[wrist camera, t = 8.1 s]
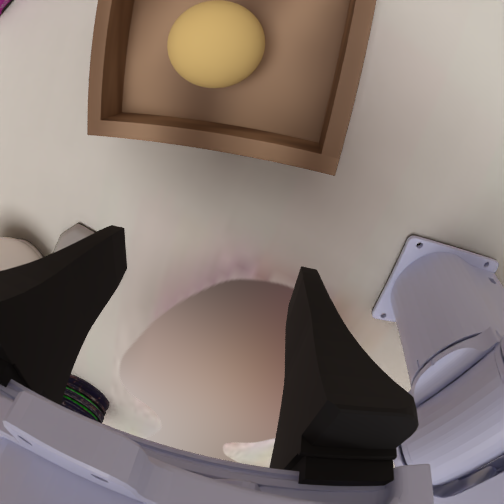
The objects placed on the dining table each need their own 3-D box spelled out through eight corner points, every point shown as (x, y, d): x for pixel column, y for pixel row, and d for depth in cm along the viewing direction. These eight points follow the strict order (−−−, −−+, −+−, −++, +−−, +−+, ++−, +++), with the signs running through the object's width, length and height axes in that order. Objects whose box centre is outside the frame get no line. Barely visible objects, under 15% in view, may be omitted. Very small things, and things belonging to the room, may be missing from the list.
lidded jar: (82, 282, 28) (32, 350, 21) (43, 311, 33) (4, 366, 25) (17, 200, 24) (-49, 253, 16) (-11, 246, 29) (-59, 294, 21)
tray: (369, -16, 12) (381, -28, 10) (329, 160, 19) (334, 175, 17) (131, -36, 13) (107, -46, 10) (111, 124, 20) (87, 134, 17)
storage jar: (60, 364, 39) (17, 442, 27) (116, 398, 41) (81, 480, 29) (56, 384, 44) (21, 451, 32) (103, 414, 47) (74, 483, 34)
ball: (273, 12, 14) (269, -6, 10) (261, 90, 17) (253, 97, 13) (188, 7, 14) (158, -8, 10) (179, 82, 17) (148, 89, 13)
